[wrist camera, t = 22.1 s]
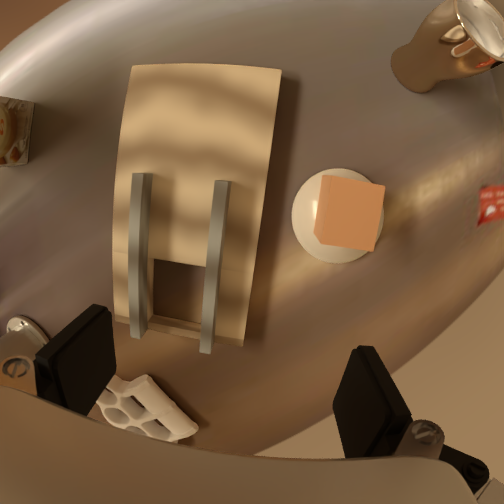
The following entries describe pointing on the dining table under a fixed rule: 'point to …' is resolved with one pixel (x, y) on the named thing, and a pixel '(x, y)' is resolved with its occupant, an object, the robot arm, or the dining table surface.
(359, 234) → the block
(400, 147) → the dining table surface
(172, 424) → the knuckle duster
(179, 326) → the board
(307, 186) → the coaster
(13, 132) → the coffee box
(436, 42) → the beer glass
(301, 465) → the robot arm
